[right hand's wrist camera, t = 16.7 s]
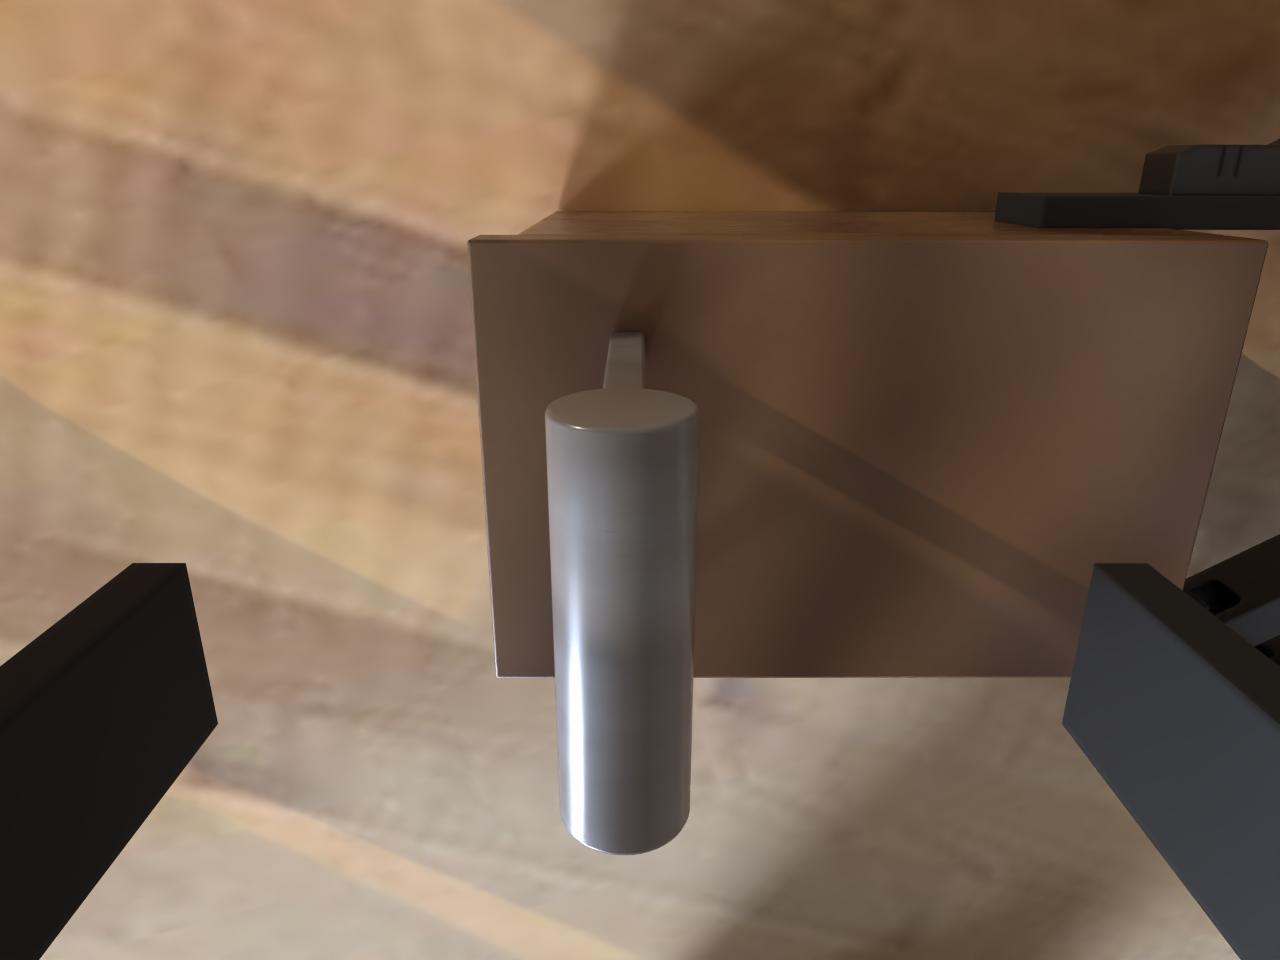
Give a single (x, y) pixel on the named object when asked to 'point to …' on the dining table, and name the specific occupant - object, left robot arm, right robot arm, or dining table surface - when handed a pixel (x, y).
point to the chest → (809, 224)
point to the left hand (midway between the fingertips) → (986, 419)
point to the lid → (825, 464)
